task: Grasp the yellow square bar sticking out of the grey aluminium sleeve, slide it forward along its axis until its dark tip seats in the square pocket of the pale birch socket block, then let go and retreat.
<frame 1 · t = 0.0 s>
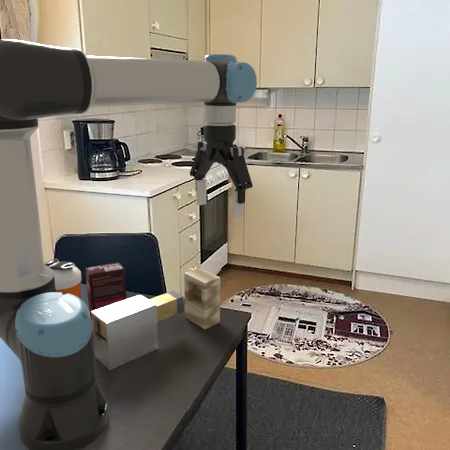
hand: (219, 210, 117), 28 cm above the table, fingers open, 13 cm apart
socket: (202, 320, 120), on the table
sleeve: (127, 352, 105), on the table
yellow square bar: (143, 314, 106), point 8 cm above the table, slide at 0.0 cm
supplement box: (108, 327, 116), on the table
shaker bottle: (67, 343, 109), on the table
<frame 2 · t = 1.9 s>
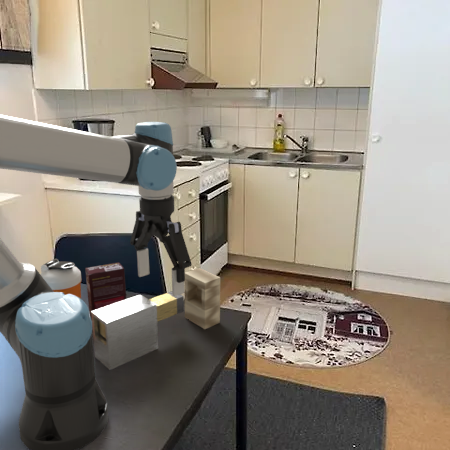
hand: (160, 284, 107), 14 cm above the table, fingers open, 13 cm apart
nothing on the table moved.
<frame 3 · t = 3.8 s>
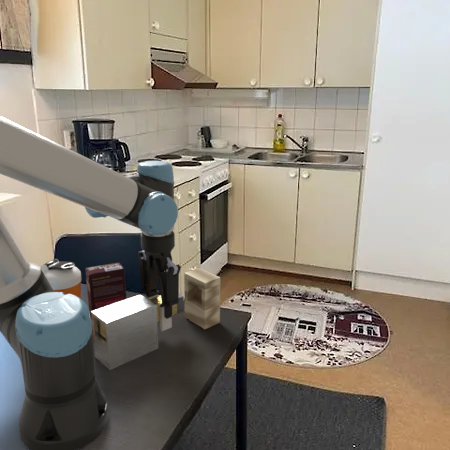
hand: (160, 324, 110), 4 cm above the table, fingers closed on yellow square bar, 4 cm apart
yellow square bar: (143, 314, 106), point 8 cm above the table, slide at 0.0 cm, touching gripper
everything else where it was.
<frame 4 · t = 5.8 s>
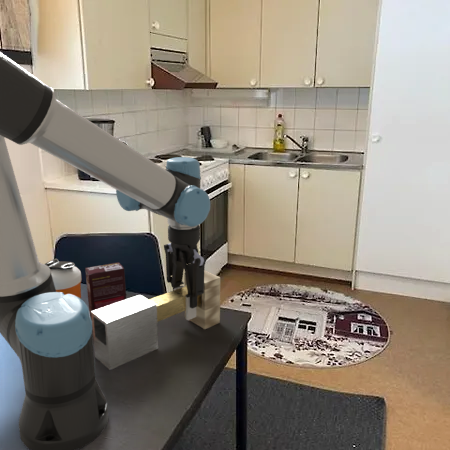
hand: (185, 314, 115), 4 cm above the table, fingers closed on yellow square bar, 4 cm apart
yellow square bar: (170, 304, 111), point 8 cm above the table, slide at 7.5 cm, touching gripper
everything else where it was.
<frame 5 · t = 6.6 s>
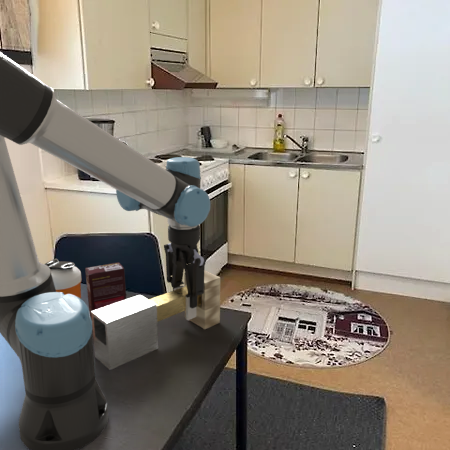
hand: (185, 314, 115), 4 cm above the table, fingers closed on yellow square bar, 4 cm apart
yellow square bar: (170, 304, 111), point 8 cm above the table, slide at 7.5 cm, touching gripper
everything else where it was.
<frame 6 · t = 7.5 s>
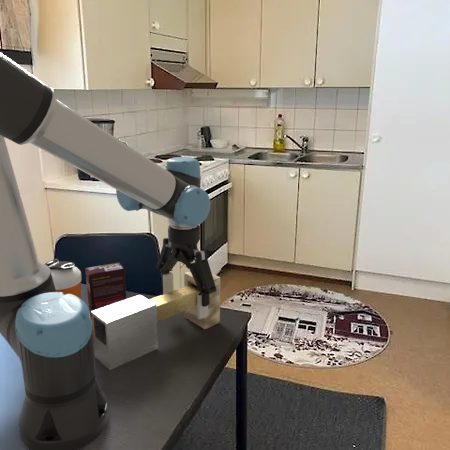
hand: (184, 306, 115), 6 cm above the table, fingers open, 13 cm apart
yellow square bar: (170, 304, 111), point 8 cm above the table, slide at 7.5 cm
everything else where it was.
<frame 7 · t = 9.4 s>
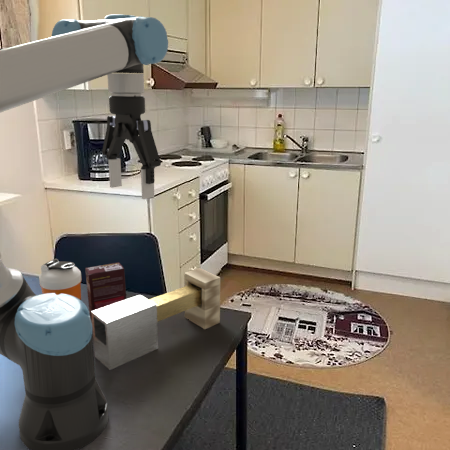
hand: (131, 192, 105), 35 cm above the table, fingers open, 13 cm apart
nothing on the table moved.
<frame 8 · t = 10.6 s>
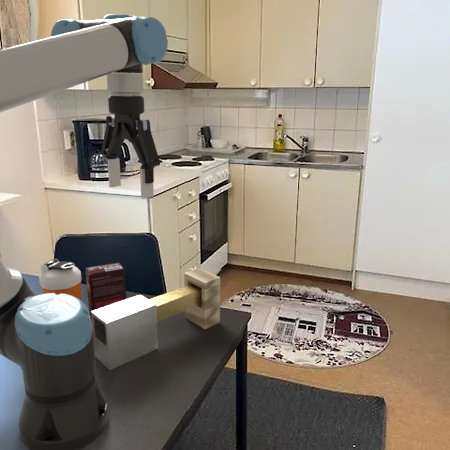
hand: (130, 191, 105), 35 cm above the table, fingers open, 13 cm apart
nothing on the table moved.
at the end: yellow square bar slide at 7.5 cm; the gripper is holding nothing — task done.
